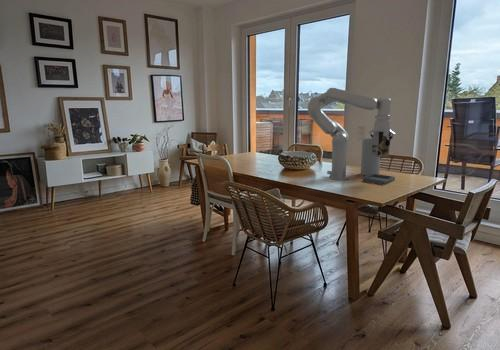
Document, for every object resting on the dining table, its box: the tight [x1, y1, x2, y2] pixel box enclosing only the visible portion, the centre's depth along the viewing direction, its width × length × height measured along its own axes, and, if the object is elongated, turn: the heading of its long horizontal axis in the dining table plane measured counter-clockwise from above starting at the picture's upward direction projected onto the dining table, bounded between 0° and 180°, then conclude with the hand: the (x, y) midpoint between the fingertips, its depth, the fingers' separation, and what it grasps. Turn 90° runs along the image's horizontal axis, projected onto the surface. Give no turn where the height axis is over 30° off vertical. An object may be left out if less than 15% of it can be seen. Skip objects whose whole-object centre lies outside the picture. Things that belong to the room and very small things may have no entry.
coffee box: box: [371, 131, 392, 158], centre depth 223 cm, size 9×6×16 cm
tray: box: [362, 173, 396, 186], centre depth 228 cm, size 15×16×2 cm
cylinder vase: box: [360, 138, 381, 177], centre depth 244 cm, size 12×12×25 cm
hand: (380, 145), depth 223 cm, fingers closed on coffee box, 8 cm apart
